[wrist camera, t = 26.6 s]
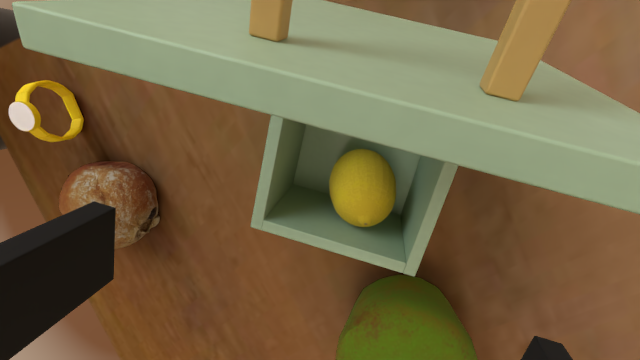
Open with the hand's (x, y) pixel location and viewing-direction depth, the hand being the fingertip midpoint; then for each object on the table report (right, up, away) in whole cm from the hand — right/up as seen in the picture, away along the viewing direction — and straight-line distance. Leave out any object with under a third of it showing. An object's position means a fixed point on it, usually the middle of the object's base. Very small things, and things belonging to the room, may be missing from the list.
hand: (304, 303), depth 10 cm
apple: (+9, -10, +27) cm, 30 cm away
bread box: (+5, +9, +21) cm, 24 cm away
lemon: (+4, +6, +21) cm, 22 cm away
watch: (-26, +12, +26) cm, 39 cm away
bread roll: (-23, +2, +29) cm, 37 cm away
